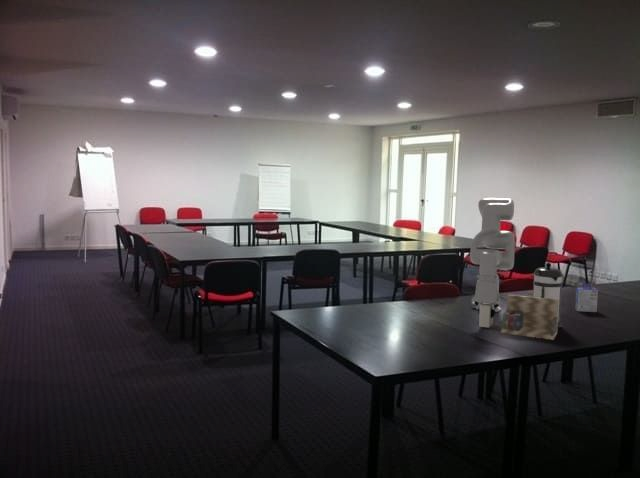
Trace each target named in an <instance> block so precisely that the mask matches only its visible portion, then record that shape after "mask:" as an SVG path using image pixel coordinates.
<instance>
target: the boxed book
mask: <svg viewBox="0 0 640 478" xmlns="http://www.w3.org/2000/svg"><path fill="white" fill-rule="evenodd" d="M491 308H492V307H491V303H482V304H481V305H480V311H479V314H478V327H482V328H487V329H488V328H491V326H492V325H493V324H494V317H493V318H491Z"/></svg>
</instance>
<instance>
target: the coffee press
mask: <svg viewBox="0 0 640 478" xmlns="http://www.w3.org/2000/svg"><path fill="white" fill-rule="evenodd" d="M551 266H552V263H550V262H546V264H545V266H544V267H538V268H536V269H534V270H535V271H534V272H533V277H534V278H533V289H532V290H533V292H532V297H537V298H547V299H556V300H559V308H558V323H559V324H558V327H557V328H562V327H563V324H562V322H561V310H562V309H561V305H562V304H561V303H562V286H563V280H562V279H563V276H564V274H563V273H562V271H561V270H560V269H558V268H555V267H551Z"/></svg>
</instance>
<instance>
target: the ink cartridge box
mask: <svg viewBox="0 0 640 478" xmlns="http://www.w3.org/2000/svg"><path fill="white" fill-rule="evenodd" d="M598 292H599V289H598V288H596V287H591V283H582V287H575V306H574V307H575V309H574V310H575V311H576V312H586V313H587V312H588V313H589V312H590V313H597V312H598V311H597V310H598V295H599V294H598Z"/></svg>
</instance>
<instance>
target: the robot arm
mask: <svg viewBox="0 0 640 478" xmlns="http://www.w3.org/2000/svg"><path fill="white" fill-rule="evenodd" d="M477 206H478V211H479V213H480V216H481V219H482V220H481V230H480V231H479V232H478V233H477V234H476V235H475V236H474V237H473V239H472V242H471V244H470V254H469V260H470V262H471V263H472V264H474V265H479V274H475V275H476V276H475V277H476V278H478V280H477V281H476V285H475V286H476V287H475V292H474V293H475V294H474V296H473V297H472V298H471V304H472V305H476V307H475V308H476V310H477V314H478V315H479V311H480V305H481V304H482V303H491V307H492V308H491V318H493V319H494V317H495V315H496V314H495V313H496V312H500V311H502V308H501V307H500V306H501V305H503V304H504V302H503V301H502V299H501V297H500V294H499V290H500V289H499V287H500V285H499V284H500V276H499V275H498V273H497V271H498V270H505V271H506V270H507V271H509V270H512V269H513V268H514V265H515V248H516V247H515V246H516V245H515V244H516V243H515V242H516V239H515V234H514V232H512V231H509V230H501V221H511V220H513V218H514V215H515V202H514V201H513V199H512V198H502V197H501V198H499V197H498V198H497V197H486V198H481V199H480V200H479V201H478V205H477ZM480 243H482V244H483V247H485V248H478V246H479V244H480ZM501 250H505V251H501Z"/></svg>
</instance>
